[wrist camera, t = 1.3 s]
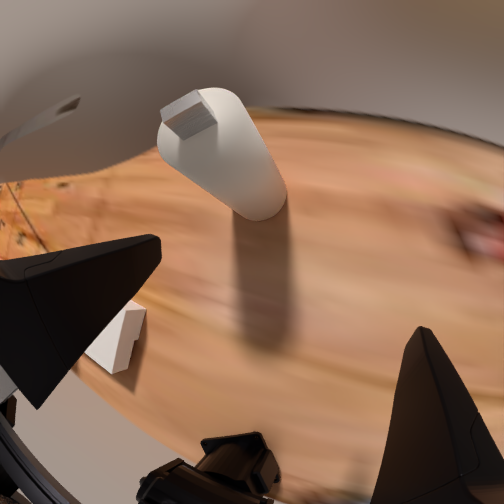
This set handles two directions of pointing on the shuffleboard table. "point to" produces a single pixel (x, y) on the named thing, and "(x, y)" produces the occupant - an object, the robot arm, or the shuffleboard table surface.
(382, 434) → the shuffleboard table surface
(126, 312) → the bracket
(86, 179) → the shuffleboard table surface
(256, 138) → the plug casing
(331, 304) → the shuffleboard table surface
